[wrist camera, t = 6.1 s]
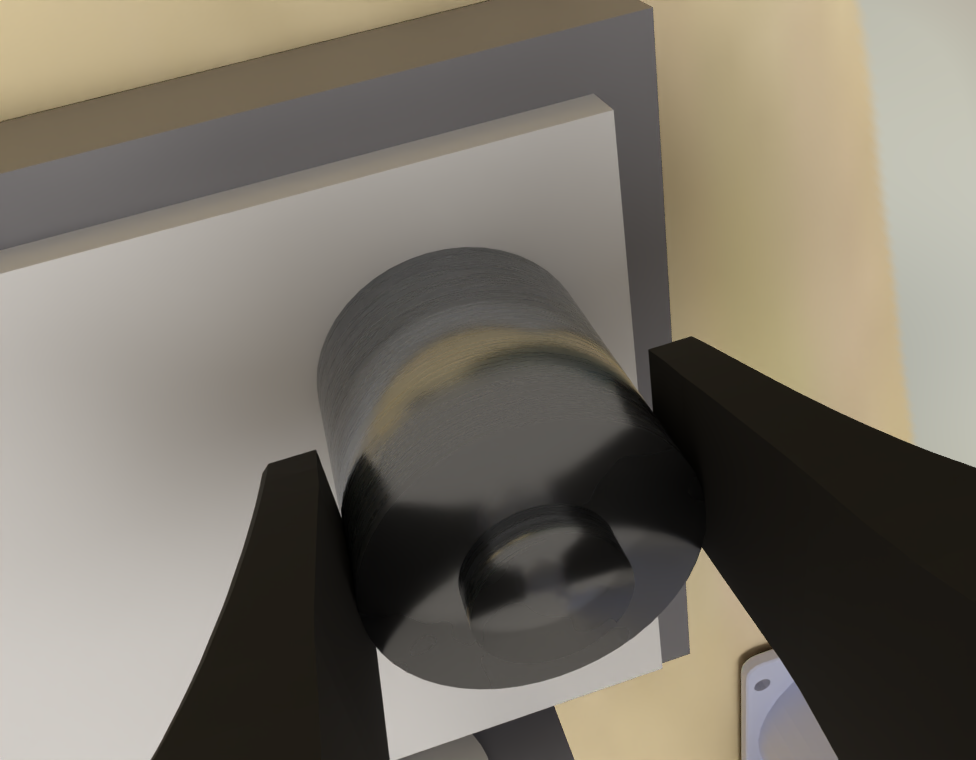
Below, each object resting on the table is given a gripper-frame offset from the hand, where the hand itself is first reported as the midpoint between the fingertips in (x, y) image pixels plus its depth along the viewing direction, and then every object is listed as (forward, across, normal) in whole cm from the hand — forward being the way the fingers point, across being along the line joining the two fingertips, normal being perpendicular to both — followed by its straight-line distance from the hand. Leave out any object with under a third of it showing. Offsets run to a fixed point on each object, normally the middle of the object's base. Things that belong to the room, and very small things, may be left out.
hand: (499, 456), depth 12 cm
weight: (+3, 0, +1) cm, 3 cm away
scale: (+6, +4, +4) cm, 8 cm away
